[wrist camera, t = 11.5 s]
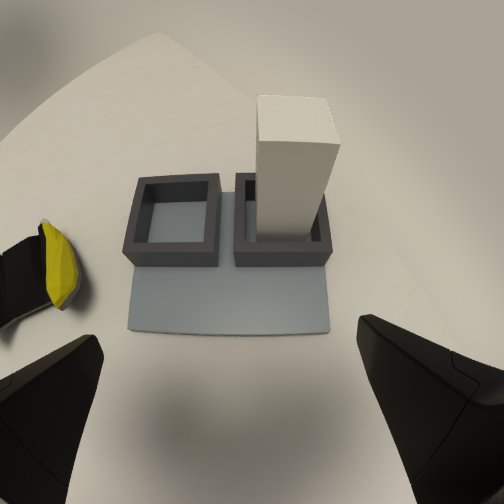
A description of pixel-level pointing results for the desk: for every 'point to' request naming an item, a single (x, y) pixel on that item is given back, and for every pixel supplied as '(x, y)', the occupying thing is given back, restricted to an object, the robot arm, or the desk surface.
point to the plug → (291, 164)
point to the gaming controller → (38, 274)
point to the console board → (220, 263)
